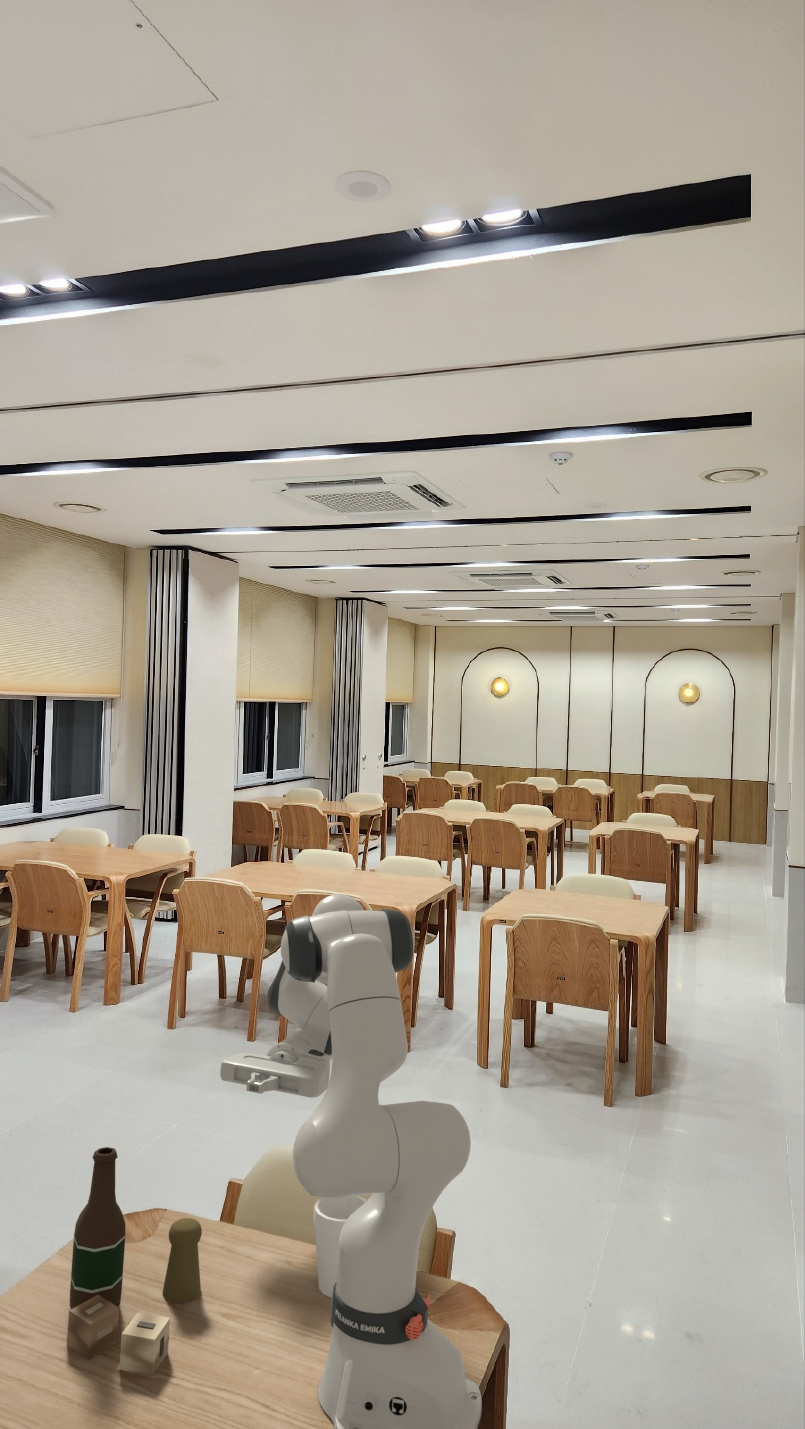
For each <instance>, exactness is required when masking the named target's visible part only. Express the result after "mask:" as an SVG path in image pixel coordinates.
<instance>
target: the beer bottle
mask: <svg viewBox="0 0 805 1429" xmlns="http://www.w3.org/2000/svg"><path fill="white" fill-rule="evenodd" d="M92 1159H93V1169H92V1176H91V1184H90V1191H89V1195H88V1200H87V1203H86V1205H85V1206H84V1207H83V1209H82V1211H80V1213H79V1215H78V1218H77V1220H76V1223H75V1227H74V1234H73V1242H72V1244H73V1245H72V1256H71V1257H72V1259H71V1269H70V1270H71V1273H70V1285H69V1287H70V1288H69V1307H70V1310H71V1309H73V1308H75V1307H77V1306H78V1305H80V1304H82V1303H84V1302H86V1301H87V1300H89V1299H91V1298H93V1297H95V1296H97V1295H99V1296H101V1297H103V1298H104V1299H106V1300H108V1301H109V1302H111V1303H112V1304H114V1305H116V1306H117V1307H119V1308H120V1305H121V1301H122V1293H123V1292H122V1290H123V1277H124V1276H123V1275H124V1263H125V1261H124V1260H125V1249H126V1248H125V1245H126V1244H125V1243H126V1221H125V1217H124V1214H123V1211H122V1209H121V1208H120V1205H119V1204H118V1202H117V1198H116V1160H117V1159H118V1153H117V1150H116V1149H115V1148H113V1147H110V1146H109V1147H108V1146H106V1147H99V1148H98V1149H97V1150H95V1151H94V1152H93V1155H92Z"/></svg>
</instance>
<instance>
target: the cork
mask: <svg viewBox="0 0 805 1429" xmlns="http://www.w3.org/2000/svg"><path fill="white" fill-rule="evenodd" d="M202 1231H203V1230H202V1225H201V1223H200V1222H199V1220H198V1219H195V1218H192V1217H183V1218H179V1219H177V1220H175V1221H174V1222H172V1224H171V1225H170V1227H169V1231H168V1239H169V1243H170V1245H171V1246H170V1251H169V1256H168V1262H167V1267H166V1273H165V1279H164V1283H163V1287H162V1288H163V1289H162V1297H163V1298H164V1300H166V1301H168V1302H170V1303H173V1304H183V1303H189V1302H191V1301H193V1300H196V1299H197V1298H198V1297H199V1296H200V1295H201V1292H202V1289H201V1288H202V1285H201V1274H200V1259H199V1248H198V1247H199V1246H198V1244H199V1242H200V1240H201V1238H202V1235H203V1234H202V1233H203V1232H202Z"/></svg>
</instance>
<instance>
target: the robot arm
mask: <svg viewBox="0 0 805 1429" xmlns="http://www.w3.org/2000/svg"><path fill="white" fill-rule="evenodd" d="M415 943H416V942H415V934H414V931H413V927H412V925H411V922H410V920H409V918H408V916H406V915H405V914H404V913H403V912H401V911H400V910H395V909H390V908H381V909H380V910H373V909H372V910H371V909H370V910H366V909H364V908H363V907H362V904H360V902H358V900H356V899H355V898H354V897H352V896H350V895H347V894H342V893H337V894H332V895H330V894H329V895H328V896H326V897H325V898H323V899H321V900H320V901H319V902H318V903H317V905H316V906H315V908H314V910H313V912H312V914H311V916H309V915H308V914H307V915H306V914H305V915H302V916H301V915H300V916H299V917H295V918H293V919H290V921H288V923H287V924H286V925H285V927H284V932H283V934H282V937H281V942H280V954H281V959H282V960H281V962H280V965H279V967H278V970H277V973H276V975H275V977H274V979H273V980H272V981H271V983H270V985H269V988H268V990H267V992H266V994H267V1003H268V1006H269V1009H270V1010H271V1011H273V1012H275V1013H276V1014H278V1015H279V1016H281V1017H284V1018H285V1019H287V1020H288V1021H289V1022H291V1023H293V1024H294V1025H295V1026H297V1027H298V1028H300V1030H298V1031H297V1032H295V1033H294V1034H292V1035H291V1036H289V1037H286V1038H285V1039H283V1040H282V1041H280V1042H279V1043H277V1044H275V1045H273V1046H272V1047H271V1048H270V1049H269V1050H268V1052H267V1054H265V1055H264V1054H260V1053H254V1052H247V1051H245V1052H244V1051H241V1052H238V1053H235V1054H232V1055H230V1056H228V1057H225V1058H224V1059H222V1061H221V1063H220V1069H219V1070H220V1072H219V1076H220V1079H221V1080H222V1081H224V1082H229V1083H233V1084H240V1085H244V1086H246V1088H245V1090H246V1091H247V1092H249V1093H255V1094H260V1095H262V1094H264V1093H265V1092H272V1091H275V1092H280V1093H285V1094H290V1095H294V1096H295V1095H297V1096H300V1097H306V1098H310V1099H311V1098H312V1099H314V1098H318V1097H320V1096H321V1095H323V1094H324V1095H323V1098H322V1099H321V1101H320V1103H319V1105H318V1106H317V1107H316V1109H315V1110H314V1111H313V1112H312V1114H311V1115H310V1116H309V1117H308V1118H307V1119H306V1120H305V1121H304V1122H303V1124H302V1125H301V1126H300V1127H299V1130H298V1131H297V1135H296V1136H295V1139H294V1142H293V1147H292V1165H293V1168H294V1169H293V1170H294V1172H295V1176H296V1177H297V1180H298V1183H299V1184H300V1185H301V1187H303V1189H304V1190H305V1191H306V1192H307V1193H308V1194H309V1195H311V1196H313V1197H320V1198H321V1197H332V1198H348V1197H355V1196H360V1197H362V1196H366V1195H367V1196H368V1195H370V1196H369V1198H368V1199H367V1202H366V1203H365V1204H363V1205H362V1206H361V1207H360V1208H358V1209H357V1210H356V1211H355V1212H354V1213H352V1214H351V1215H350V1216H349V1218H348V1219H347V1220H346V1222H345V1224H344V1225H343V1228H342V1230H341V1233H340V1236H339V1247H338V1265H337V1282H336V1283H335V1284H334V1287H333V1295H332V1297H331V1304H330V1325H331V1327H332V1328H331V1329H332V1330H331V1336H330V1343H329V1349H328V1353H327V1359H326V1362H325V1366H324V1370H323V1373H322V1377H321V1378H320V1381H319V1383H318V1389H317V1397H318V1401H319V1403H320V1406H321V1407H322V1410H323V1411H324V1413H326V1415H327V1416H328V1418H330V1419H331V1421H332V1424H333V1427H334V1429H478V1427H479V1425H480V1421H481V1417H482V1409H483V1406H482V1405H483V1404H482V1402H483V1401H482V1394H481V1390H480V1389H479V1388H480V1387H479V1385H478V1384H477V1383H476V1382H474V1381H472V1380H470V1379H468V1378H467V1375H466V1367H465V1362H464V1358H463V1356H462V1353H461V1352H460V1350H459V1349H458V1347H457V1346H455V1345H454V1344H453V1343H452V1342H451V1340H449V1338H447V1337H446V1336H445V1334H443V1332H441V1331H440V1330H439V1329H438V1328H437V1327H436V1325H434V1323H433V1322H431V1321H430V1320H429V1308H430V1306H431V1297H432V1294H431V1293H429V1294H428V1295H427V1297H426V1299H425V1301H424V1298H422V1296H421V1294H420V1293H419V1290H418V1288H417V1285H416V1282H417V1270H418V1261H419V1260H418V1259H419V1250H420V1243H421V1238H422V1234H423V1230H424V1227H425V1224H426V1222H427V1219H428V1217H429V1215H430V1213H431V1211H432V1209H433V1207H434V1205H435V1203H436V1202H437V1200H438V1199H439V1197H440V1196H441V1195H442V1194H443V1191H444V1190H445V1189H447V1187H448V1186H449V1184H450V1183H451V1182H452V1181H453V1180H455V1178H457V1177H458V1176H459V1175H460V1174H461V1173H462V1172H464V1170H465V1167H466V1166H467V1163H468V1161H469V1157H470V1153H471V1135H470V1134H471V1133H470V1130H469V1126H468V1124H467V1121H466V1119H465V1118H464V1117H463V1115H462V1114H461V1112H460V1111H459V1109H457V1107H455V1106H454V1105H453V1104H451V1103H445V1102H444V1103H443V1102H436V1101H429V1100H427V1101H426V1100H419V1101H408V1102H399V1103H398V1102H397V1103H389V1104H380V1101H379V1091H380V1090H379V1089H380V1085H381V1083H382V1082H384V1081H385V1080H387V1079H388V1078H389V1077H391V1076H392V1075H393V1074H395V1073H396V1072H397V1071H398V1070H399V1069H400V1068H401V1067H402V1066H403V1064H405V1061H406V1059H407V1056H408V1050H409V1043H408V1039H407V1038H408V1037H407V1032H406V1024H405V1018H404V1017H405V1016H404V1012H403V1006H402V999H401V994H400V993H401V992H400V988H399V987H400V986H399V983H398V979H397V976H396V973H399V972H401V971H404V970H407V969H408V967H409V966H410V964H411V963H412V961H413V957H414V951H415ZM330 1071H331V1072H330Z"/></svg>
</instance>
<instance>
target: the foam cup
mask: <svg viewBox="0 0 805 1429" xmlns="http://www.w3.org/2000/svg"><path fill="white" fill-rule="evenodd" d="M367 1201H368V1199H366V1198H364V1197H363V1196H355V1197H348V1198H332V1197H321V1196H320V1197H319V1198H318V1199H317V1200H316V1201H315V1204H314V1206H313V1220H312V1222H313V1224H314V1234H315V1235H314V1236H315V1252H316V1254H315V1255H316V1266H317V1268H316V1271H317V1284H318V1289H319V1291H320V1292H321V1294H323V1295H325V1296H326V1297H328V1298H332V1295H333V1287H334V1284H335V1283H336V1282H337V1265H338V1247H339V1236H340V1233H341V1230H342V1228H343V1225H344V1224H345V1222H346V1220H347V1219H348V1218H349V1216H350V1215H351V1214H352V1213H354V1212H355V1211H356V1210H357V1209H358V1208H360V1207H361V1206H362V1205H363V1204H365V1203H366V1202H367Z"/></svg>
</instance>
